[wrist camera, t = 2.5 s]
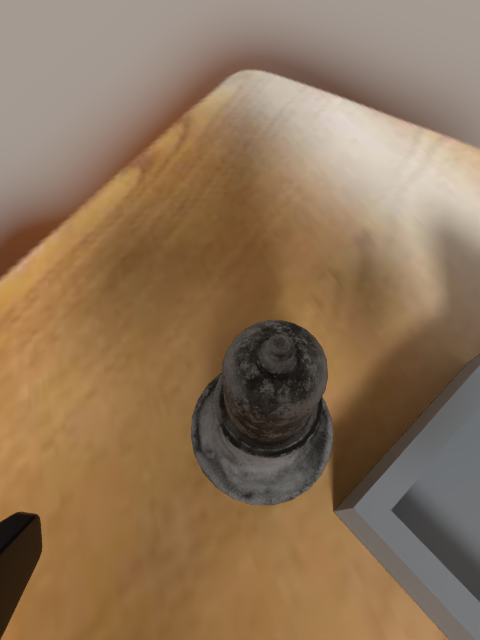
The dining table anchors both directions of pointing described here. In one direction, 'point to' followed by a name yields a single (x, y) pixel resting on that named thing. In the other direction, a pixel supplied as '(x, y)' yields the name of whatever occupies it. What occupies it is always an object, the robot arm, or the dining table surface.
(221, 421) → the salt shaker
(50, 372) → the dining table surface
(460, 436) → the shaker rack
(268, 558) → the dining table surface
